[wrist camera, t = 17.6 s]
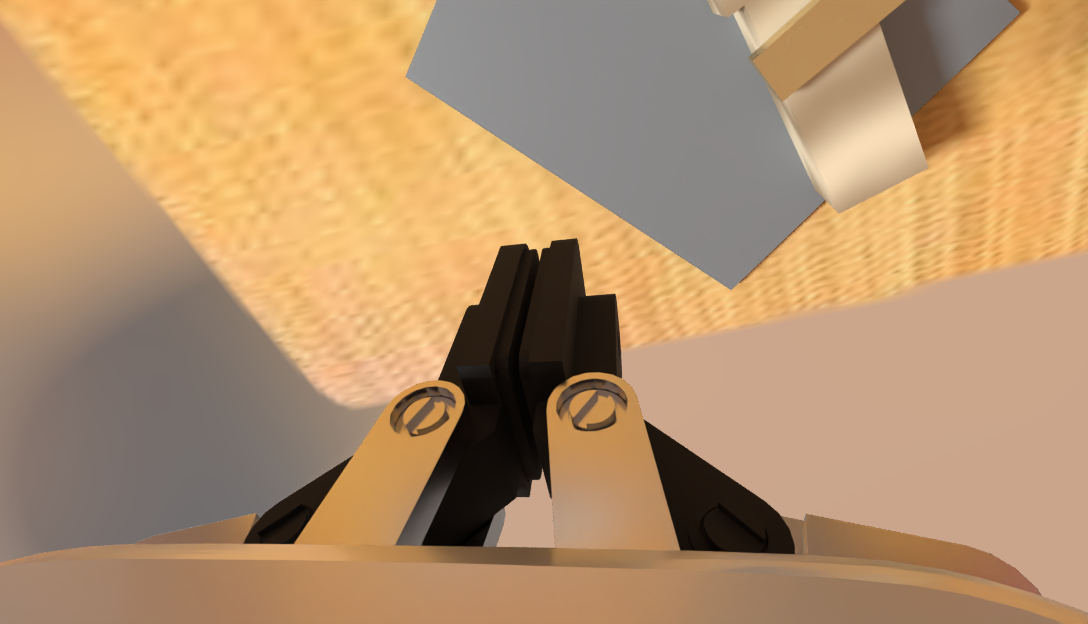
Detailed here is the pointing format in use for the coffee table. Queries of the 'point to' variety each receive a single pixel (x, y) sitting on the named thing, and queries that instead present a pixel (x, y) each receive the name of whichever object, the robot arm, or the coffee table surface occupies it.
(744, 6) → the link
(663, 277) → the coffee table surface
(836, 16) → the keeper
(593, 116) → the board
